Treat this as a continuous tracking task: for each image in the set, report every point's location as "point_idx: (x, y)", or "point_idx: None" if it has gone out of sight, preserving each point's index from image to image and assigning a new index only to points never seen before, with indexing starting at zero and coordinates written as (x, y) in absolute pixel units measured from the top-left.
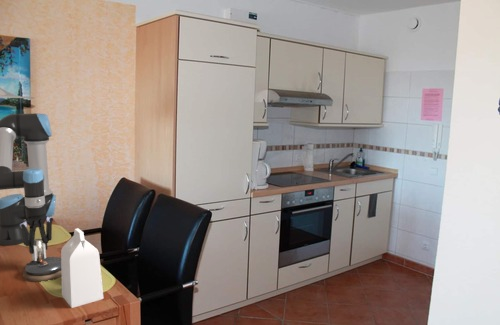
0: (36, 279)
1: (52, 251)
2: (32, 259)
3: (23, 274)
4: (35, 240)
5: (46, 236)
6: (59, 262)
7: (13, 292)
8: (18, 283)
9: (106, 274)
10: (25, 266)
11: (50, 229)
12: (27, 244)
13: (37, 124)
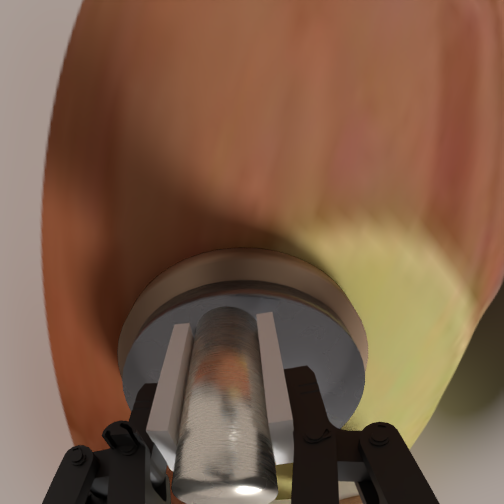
0: None
1: (406, 14)
2: (175, 331)
3: (120, 366)
4: (195, 489)
5: (368, 468)
6: None
7: (92, 428)
8: (104, 381)
9: None
10: (123, 373)
11: None
12: (104, 497)
13: None
